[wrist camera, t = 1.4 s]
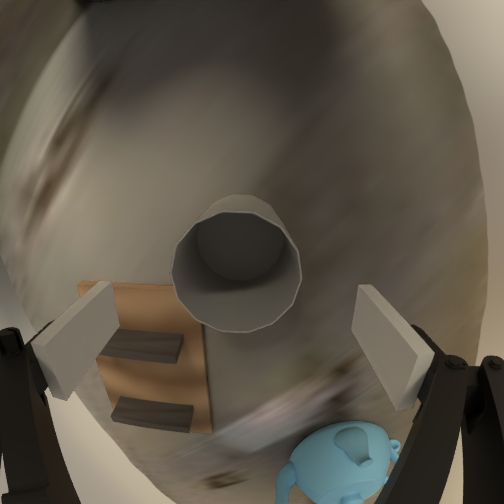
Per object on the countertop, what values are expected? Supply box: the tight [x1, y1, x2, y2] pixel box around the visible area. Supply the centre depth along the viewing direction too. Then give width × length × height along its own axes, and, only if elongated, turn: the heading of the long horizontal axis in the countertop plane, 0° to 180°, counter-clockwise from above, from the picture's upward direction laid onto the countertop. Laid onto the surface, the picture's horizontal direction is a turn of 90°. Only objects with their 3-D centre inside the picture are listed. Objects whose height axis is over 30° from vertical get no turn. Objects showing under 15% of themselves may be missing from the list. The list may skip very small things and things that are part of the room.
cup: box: [170, 194, 302, 333], centre depth 23 cm, size 8×8×10 cm
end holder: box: [77, 281, 213, 434], centre depth 30 cm, size 22×14×5 cm, turn 179°
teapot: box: [275, 421, 401, 504], centre depth 32 cm, size 17×19×12 cm
